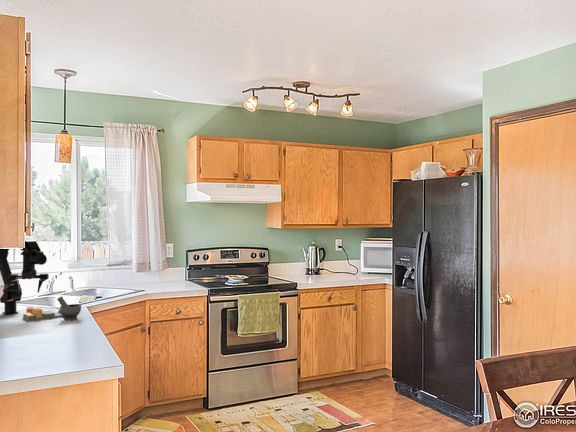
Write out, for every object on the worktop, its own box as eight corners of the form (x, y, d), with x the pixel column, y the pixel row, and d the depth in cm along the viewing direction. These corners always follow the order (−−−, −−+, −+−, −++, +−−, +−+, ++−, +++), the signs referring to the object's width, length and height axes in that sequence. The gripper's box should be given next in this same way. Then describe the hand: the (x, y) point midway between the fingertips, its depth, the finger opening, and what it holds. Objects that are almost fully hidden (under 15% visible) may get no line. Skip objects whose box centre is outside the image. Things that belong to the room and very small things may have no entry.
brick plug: (26, 314, 273) (26, 307, 273) (32, 314, 275) (32, 306, 275) (26, 317, 266) (26, 309, 266) (33, 316, 267) (33, 309, 267)
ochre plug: (42, 317, 259) (42, 309, 259) (35, 318, 257) (35, 310, 257) (37, 314, 266) (37, 307, 266) (31, 315, 264) (31, 307, 264)
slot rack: (23, 318, 262) (23, 313, 262) (64, 313, 275) (64, 308, 275) (28, 321, 254) (28, 315, 254) (69, 316, 267) (69, 311, 267)
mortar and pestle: (79, 317, 265) (79, 293, 265) (82, 320, 257) (82, 296, 257) (56, 319, 259) (56, 295, 259) (58, 322, 251) (58, 298, 251)
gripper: (6, 265, 259) (5, 296, 259) (46, 264, 265) (46, 294, 265) (10, 263, 269) (9, 293, 269) (48, 262, 276) (48, 291, 276)
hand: (28, 293), depth 270 cm, fingers open, 9 cm apart
